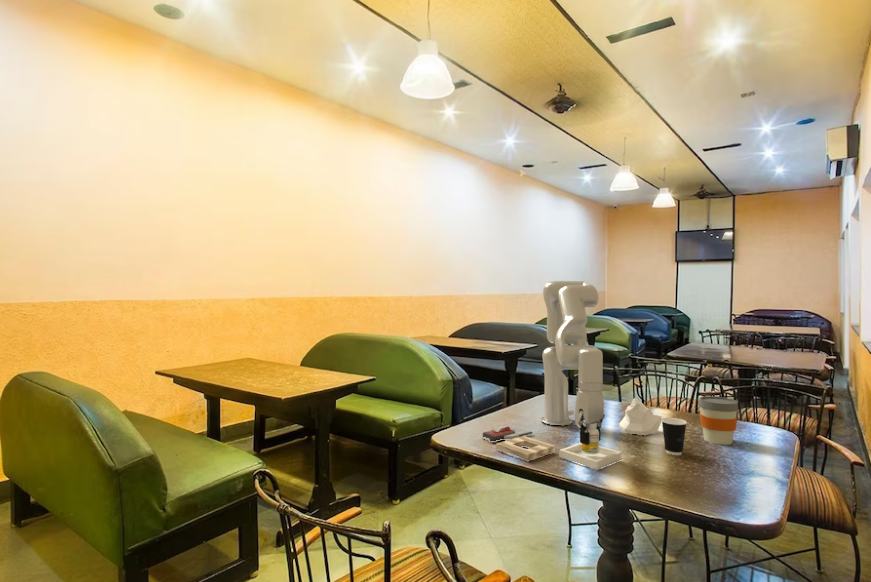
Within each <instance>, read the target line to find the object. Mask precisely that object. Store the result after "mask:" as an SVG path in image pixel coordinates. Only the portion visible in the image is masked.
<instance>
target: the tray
mask: <svg viewBox="0 0 871 582" xmlns="http://www.w3.org/2000/svg"><path fill="white" fill-rule="evenodd" d="M558 453H559V454H558V458H559V457H562V458H565V459H568V460H571V461H574V462H577V463H580V464H583V465H585V466H588V467H591V468H595V469H599V468H601V467H604V466H607V465H609V464H612V463H614V462H617V461H619V460H622V459H623V458H622V457H623V456H622V455H623V454H622V453H623V452H622V451H619V450H615V449H611V448H608V447H605V446H602V445H599V453H598V454H586V453H584V452H582V443H580V442H579V443H576V444H573V445H570V446H568V447H567V446H565V448H561V449H559V451H558Z"/></svg>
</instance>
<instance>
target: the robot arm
mask: <svg viewBox="0 0 871 582" xmlns="http://www.w3.org/2000/svg"><path fill="white" fill-rule="evenodd" d="M542 295H543V300H544V304H545V306H546V313H547V315H546V339H547V341H548V342H549V343H550V344H554V346H548V347H546V348H545V349H544V350H543V351H542V365H543V371H544V415H543V416H541V417H540V422H541V421H542V422H544V423H546V424H545V425H547V424H550V425H549V426H551V425H568V426H570V425H572V424H571V423H573V420H572V419H571V418H570V416H573V415H574V420H575V422H574V424H575V425H576V427H577V428H578V431H579V443H583V444H586V445H589V432H588V430H589V424H590V423H592V422H596V423H597V427H596V429H598V431H599V442H600V441H601V428H602V424H603V420H604V419H605V413H604V412H605V409H604V408H605V406H604V394H603V383H604V382H603V379H604V377H603V371H604V370H603V366H604V365H603V363H604V362H603V361H604V360H603V359H604V358H603V351H602V350H601V349H599V348H598V347H597V346H595V345H593V344H592V345H590V344H587V334H588V333H587V327H586V325H587V323H588V316H587V312H586V308H595V307H597V306H598V304H599V301H600V299H599V298H600V297H599V292H598V289H597V288H596V287H595V286H594V285H593V284H591V283H589V282H588V281H585V280H584V281H582V280H581V281H580V280H577V281H576V280H575V281H571V280H555V281H554V280H553V281H548V282H546V283H545V284H544V285H543V289H542ZM565 370H573V371H574V370H576V371H577V370H578V372H577V373H578V377H577V378H578V379H577V380H578V383H577V386H578V390H577V392H576V399H575V406H574V409H575V410H571V409H570V410H569V379H568V378H567V376H566V375H565V374H564V372H563V371H565ZM542 422H541V423H542ZM544 423H543V424H544ZM569 424H570V425H569ZM584 424H586V426H584Z"/></svg>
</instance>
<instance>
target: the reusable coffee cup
mask: <svg viewBox="0 0 871 582" xmlns="http://www.w3.org/2000/svg"><path fill="white" fill-rule="evenodd" d="M698 407H699V411H700V412H699V414H698V415H699V420H700V421H699V422H700V425H701V427H702V432H703V439H704V441H705V442H708V443H711V444H715V445H716V444H717V445H731V444H733V441H734V440H733V439H734V433H735V431H736V428H737V425H738V424H737V423H738V416H737V413H738V411H739V405H738V401H737V400H735V399H733V398H728V397H722V396H714V395H713V396H712V395H711V396H705V395H704V396H700V397H699V401H698Z"/></svg>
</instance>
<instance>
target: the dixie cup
mask: <svg viewBox="0 0 871 582" xmlns="http://www.w3.org/2000/svg"><path fill="white" fill-rule="evenodd" d="M661 424H662V433H663V440H664V441H663V443H664V449H665V452H667V453H666V454H668V455H671V454H672V456H682V454H683V451H684V445H685V436H686V435H685V434H686V429H687V424H688V422H687V421H686V420H685V419H682V418H678V417H677V418H676V417H663V418H662V419H661Z"/></svg>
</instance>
